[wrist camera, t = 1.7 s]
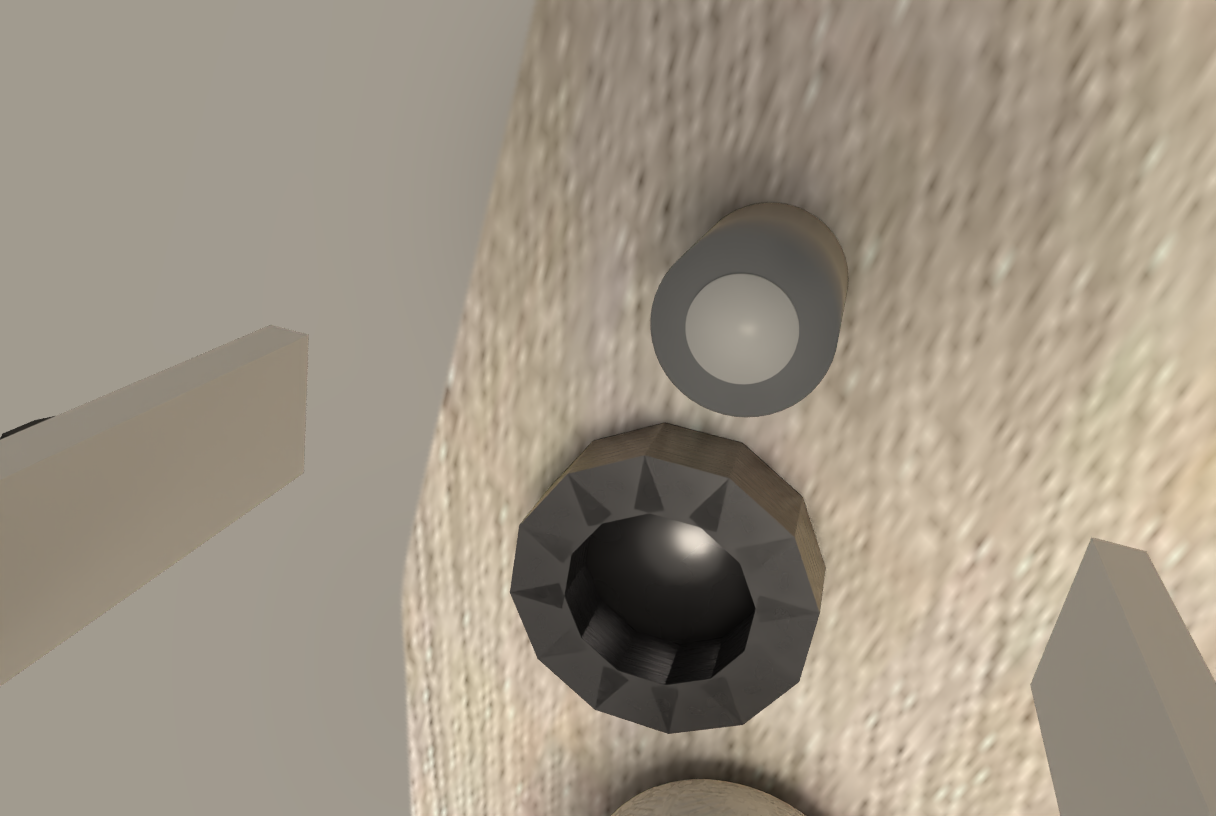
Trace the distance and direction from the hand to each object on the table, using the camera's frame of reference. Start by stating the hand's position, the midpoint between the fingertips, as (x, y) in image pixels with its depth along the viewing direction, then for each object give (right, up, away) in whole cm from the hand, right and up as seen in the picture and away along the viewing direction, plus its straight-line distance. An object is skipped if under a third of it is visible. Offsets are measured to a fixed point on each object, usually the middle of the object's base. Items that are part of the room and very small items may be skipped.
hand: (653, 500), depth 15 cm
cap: (+5, +6, +15) cm, 16 cm away
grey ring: (+2, -4, +19) cm, 20 cm away
